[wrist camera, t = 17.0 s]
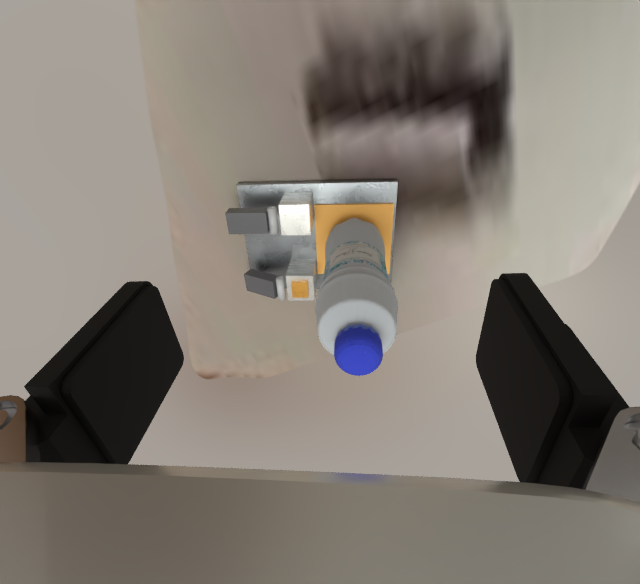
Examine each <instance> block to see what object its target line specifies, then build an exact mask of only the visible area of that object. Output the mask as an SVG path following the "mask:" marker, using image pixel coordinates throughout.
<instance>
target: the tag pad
mask: <svg viewBox="0 0 640 584" xmlns="http://www.w3.org/2000/svg"><path fill="white" fill-rule="evenodd" d="M314 210H315V230H316V251H317V271H318V274H324V270H325V246H326V241H327V238H328V236H329V234H330V232H331V230H332V229H333V227H334V226H335V225H337V224H340V223H343V222H345V221H347V220H349V219H350V218H358V219H360V220H363V221H366V222H369V223H372V224H374V225H375V226H376V227H377V229H378V230H379V232H380V234H381V236H382V238H383V241H384V246H385V263H386V269H387V274H389V272H390V257H391V243H392V229H393V215H394V203H368V204H314Z"/></svg>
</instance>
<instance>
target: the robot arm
mask: <svg viewBox="0 0 640 584" xmlns="http://www.w3.org/2000/svg"><path fill="white" fill-rule="evenodd" d="M183 360H184V356H183V352H182V349H181V347H180V344H179V342H178V339H177V337H176V334H175V331H174V329H173V326H172V324H171V321H170V319H169V316H168V313H167V311H166V308H165V305H164V303H163V300H162V298H161V295H160V292H159V290H158V288H157V287H155V286H153V285H152V284H151V283H150V282H148V281H142V282H141V281H139V282H127V283H126V284H124V285H123V286H122V287H121V289H119V290H118V291H117V293H115V294H114V296H113V297H112V298H111V299H110V300H109V301H108V302H107V303H106V304H105V305H104V306H103V307H102V308H101V309H100V310H99V311H98V312H97V313H96V314H95V315H94V316H93V317H92V318H91V319H90V320H89V321H88V322H87V323H86V324H85V325H84V326H83V327H82V328H81V329H80V331H78V332H77V333H76V334H75V335H74V337H72V338H71V339H70V340H69V341H68V342H67V344H65V346H63V348H62V349H61V350H60V351H59V352H58V353H57V354H56V355H55V356H54V357H53V358H52V359H51V360H50V361H49V362H48V363H47V364H46V365H45V366H44V367H43V368H42V369H41V370H40V371H39V372H38V373H37V374H36V375H35V376H34V377H33V378H32V379H31V380H30V381H29V382H28V383H27V384H26V385H25V386H24V387H25V388H26V390H27V391H28V392H29V394H30V397H29V398H28V399H27V400H26V401H24V399H22V398H20V397H19V396H12V395H9V396H2V397H0V584H640V407H629V406H628V405H627V404H626V402H625V401H624V399H623V398H622V397H621V395H620V394H619V393H618V391H617V390H616V389H615V387H614V386H613V385H612V383H611V382H610V381H609V379H608V378H607V377H606V375H605V374H604V373H603V371H602V370H601V369H600V367H599V366H598V365H597V364H596V362H595V361H594V359H593V358H592V357H591V356H590V354H589V353H588V351H587V350H586V349H585V347H584V346H583V345H582V343H581V342H580V341H579V339H578V338H577V337H576V335H575V334H574V333H573V331H572V330H571V329H570V328H569V327H568V326H567V325H566V324H564V323H563V321H562V320H561V319H560V317H559V316H558V314H557V313H556V312H555V310H554V309H553V308H552V306H551V305H550V304H549V303H548V301H547V300H546V298H545V297H544V296H543V294H542V293H541V292H540V290H539V289H538V287H537V286H536V285H535V283H534V282H533V281H532V279H531V278H530V277H529V275H528V274H526V273H511V274H501V276H500V277H499V279H494V280H493V281H492V284H491V288H490V293H489V297H488V302H487V307H486V312H485V316H484V321H483V326H482V331H481V335H480V340H479V344H478V349H477V354H476V364H477V368H478V371H479V374H480V377H481V379H482V382H483V385H484V387H485V390H486V393H487V396H488V398H489V401H490V404H491V406H492V409H493V412H494V415H495V417H496V420H497V422H498V425H499V428H500V431H501V434H502V436H503V439H504V441H505V444H506V447H507V450H508V453H509V455H510V458H511V461H512V463H513V466H514V469H515V471H516V474H517V477H518V479H519V481H520V482H508V481H492V480H475V479H460V478H443V477H422V476H421V477H419V476H399V475H378V474H377V475H376V474H355V473H334V472H311V471H286V470H263V469H237V468H213V467H186V466H157V465H128V463H129V461H130V460H131V458H132V456H133V454H134V452H135V450H136V449H137V447H138V445H139V443H140V441H141V440H142V438H143V436H144V434H145V432H146V431H147V429H148V427H149V425H150V423H151V421H152V420H153V418H154V416H155V414H156V412H157V410H158V409H159V407H160V405H161V403H162V401H163V400H164V398H165V396H166V394H167V392H168V391H169V389H170V387H171V385H172V383H173V382H174V380H175V378H176V376H177V374H178V372H179V371H180V369H181V367H182V365H183Z"/></svg>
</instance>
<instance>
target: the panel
mask: <svg viewBox="0 0 640 584" xmlns="http://www.w3.org/2000/svg"><path fill="white" fill-rule="evenodd" d="M397 187H398V181H397V179H378V180H331V181H283V182H239V183H238V184H237V191H238V197H239V203H240V208H268V207H276V210H277V219H278V229H279V233H278V234H274V235H273V234H270V231H269V233H268V234H245V240H246V246H247V253H248V259H249V265H250V270H251V269H255V270H258V271H262V272H266V273H270V274H274V275H277V276H282V277H284V285H285V289H287V293H288V300H315V293H316V289H319V288H320V286H321V284H322V283H323V278H324V274H318V271H317V251H316V230H315V210H314V204H368V203H394V215H393V229H392V243H391V257H390V272H389V274H387V275H388V280H389V281H390V283H391V269H392V256H393V242H394V228H395V215H396V201H397Z"/></svg>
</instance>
